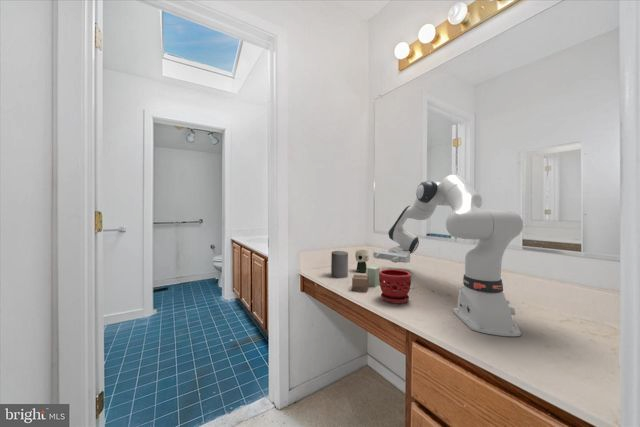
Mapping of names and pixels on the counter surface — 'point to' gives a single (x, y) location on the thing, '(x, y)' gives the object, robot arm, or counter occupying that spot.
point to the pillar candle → (339, 264)
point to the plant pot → (395, 285)
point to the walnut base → (360, 283)
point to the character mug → (361, 260)
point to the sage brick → (373, 276)
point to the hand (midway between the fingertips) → (384, 258)
